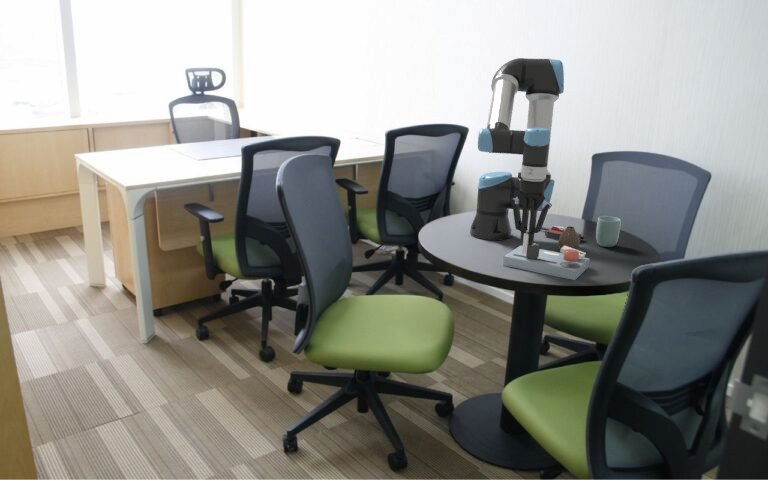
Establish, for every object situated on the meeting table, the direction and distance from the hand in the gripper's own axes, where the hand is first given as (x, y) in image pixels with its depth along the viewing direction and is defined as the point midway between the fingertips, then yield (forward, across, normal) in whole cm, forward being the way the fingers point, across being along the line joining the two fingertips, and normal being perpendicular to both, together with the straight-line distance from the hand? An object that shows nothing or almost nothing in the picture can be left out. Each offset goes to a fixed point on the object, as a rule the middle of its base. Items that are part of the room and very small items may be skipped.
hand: (525, 252), depth 201 cm
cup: (+5, +15, +41) cm, 44 cm away
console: (+5, +6, +4) cm, 8 cm away
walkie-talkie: (+5, -3, +41) cm, 42 cm away
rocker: (0, +12, +8) cm, 15 cm away
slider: (+1, +2, 0) cm, 2 cm away
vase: (+5, +6, +25) cm, 26 cm away
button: (0, +14, +1) cm, 14 cm away
